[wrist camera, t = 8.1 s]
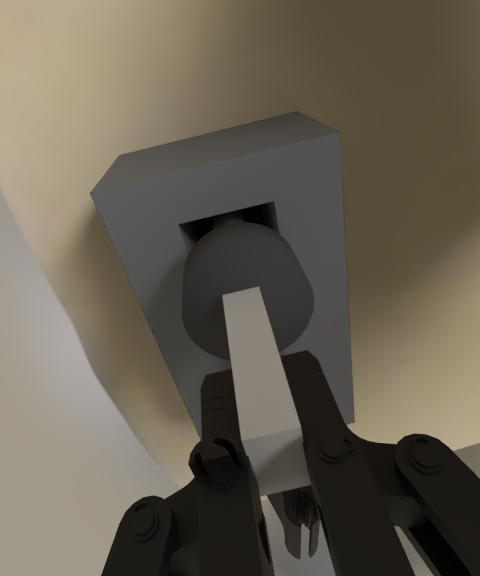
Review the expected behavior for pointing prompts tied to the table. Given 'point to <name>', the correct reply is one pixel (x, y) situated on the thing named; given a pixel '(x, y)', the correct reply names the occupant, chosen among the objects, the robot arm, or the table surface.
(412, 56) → the table surface
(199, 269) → the knob
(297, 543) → the phone stand
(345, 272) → the mount
